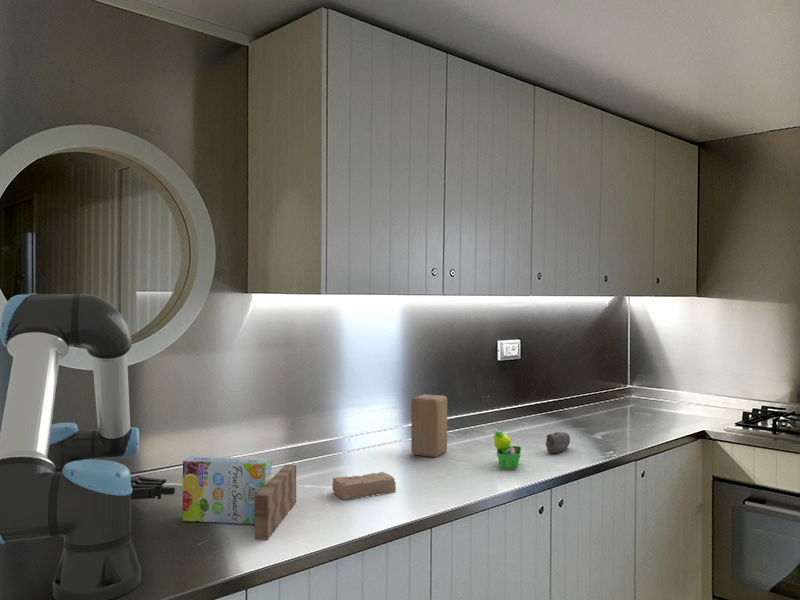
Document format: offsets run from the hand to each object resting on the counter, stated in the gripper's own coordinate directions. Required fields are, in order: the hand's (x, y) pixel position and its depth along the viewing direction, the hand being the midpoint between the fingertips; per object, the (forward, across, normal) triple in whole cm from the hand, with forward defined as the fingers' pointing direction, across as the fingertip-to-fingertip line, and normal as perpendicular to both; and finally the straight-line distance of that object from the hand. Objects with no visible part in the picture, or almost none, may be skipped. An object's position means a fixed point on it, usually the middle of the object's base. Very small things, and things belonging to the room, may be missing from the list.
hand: (188, 489), depth 158 cm
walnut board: (+23, +1, -6) cm, 24 cm away
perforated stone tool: (+105, -74, -7) cm, 129 cm away
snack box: (+11, +2, -7) cm, 13 cm away
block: (+59, -67, -8) cm, 90 cm away
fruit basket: (+85, -54, -7) cm, 101 cm away
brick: (+42, -22, -7) cm, 48 cm away
